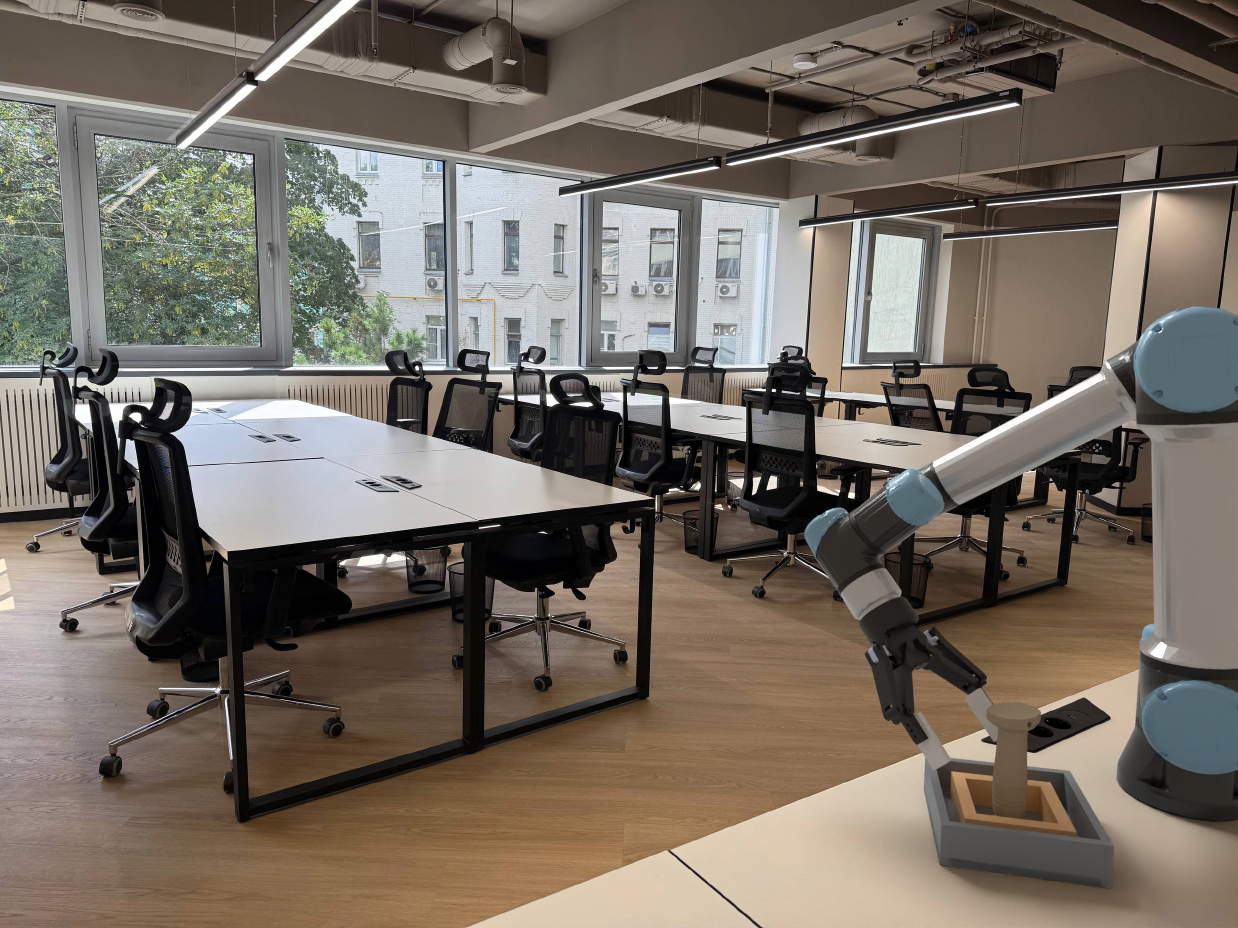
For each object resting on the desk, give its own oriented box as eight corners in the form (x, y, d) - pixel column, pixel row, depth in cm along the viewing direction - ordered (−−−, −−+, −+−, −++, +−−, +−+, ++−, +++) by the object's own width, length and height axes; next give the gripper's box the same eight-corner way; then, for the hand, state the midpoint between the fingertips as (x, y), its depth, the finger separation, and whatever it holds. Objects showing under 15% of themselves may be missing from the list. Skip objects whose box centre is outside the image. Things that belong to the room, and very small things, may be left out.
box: (1067, 806, 110) (1069, 770, 110) (1110, 888, 93) (1114, 845, 92) (923, 789, 115) (925, 754, 114) (939, 864, 97) (941, 824, 97)
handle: (1042, 830, 103) (1049, 713, 101) (1003, 841, 100) (1009, 722, 99) (1011, 811, 107) (1017, 699, 106) (972, 821, 105) (978, 707, 103)
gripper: (916, 607, 127) (1005, 737, 116) (804, 638, 112) (895, 790, 102) (949, 581, 122) (1045, 714, 111) (837, 609, 107) (935, 766, 97)
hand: (974, 750), depth 106 cm, fingers open, 13 cm apart
